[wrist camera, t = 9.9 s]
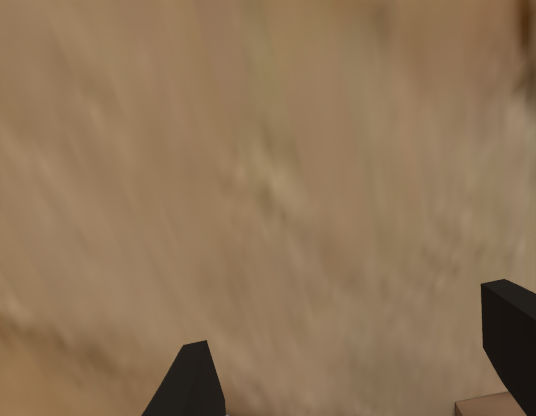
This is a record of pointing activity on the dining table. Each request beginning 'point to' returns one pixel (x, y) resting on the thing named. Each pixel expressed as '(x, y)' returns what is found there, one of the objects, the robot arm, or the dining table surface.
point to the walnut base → (490, 406)
